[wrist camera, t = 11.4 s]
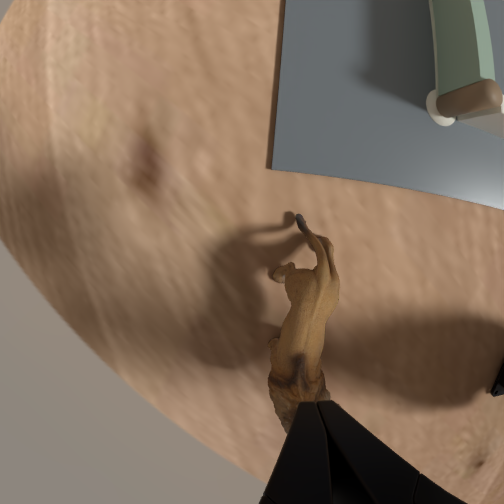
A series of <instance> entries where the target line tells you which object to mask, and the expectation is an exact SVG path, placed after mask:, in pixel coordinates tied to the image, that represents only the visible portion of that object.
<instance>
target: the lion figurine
mask: <svg viewBox="0 0 504 504" xmlns="http://www.w3.org/2000/svg"><path fill="white" fill-rule="evenodd" d="M296 221H297V225H298V228H299V229H300V231H301V232H302V233H303V234H304V235H305V236H306V237H307V238H308V240H309V241H310V242H311V244H312V246H313V248H314V250H315V252H316V256H317V266H315V267H314V269H313V270H310V269H295V264H294V263H293V262H290V263H288V264H286V265H284V266H281V267H279V268H277V269H276V270H275V272H274V274H273V278H274V280H275V282H278V283H285V290H286V292H287V296H288V298H289V300H290V301H291V305H292V306H291V309H290V311H289V313H288V315H287V317H286V318H285V320H284V322H283V325H282V329H281V334H280V338H279V339H278V338H274V339H272V340H271V341H270V342H269V343H268V347H269V348H270V350H272V351H271V358H270V361H271V364H272V369H271V371H270V374H269V377H268V387H269V394H270V398H271V400H272V401H273V403H274V408H275V413H276V414H277V416H278V417H279V419H280V421H281V424H282V426H283V427H284V430H285V432H286V433H287V434H288V431H289V429H290V426H291V423H292V421H293V418H294V415H295V412H296V409H297V407H298V404H299V402H302V401H314V402H317V401H320V400H330V393H329V391H328V390H327V389H326V386H325V379H324V374H323V372H322V370H321V364H322V362H321V359H320V356H321V353H322V350H323V345H324V338H325V324H326V321H327V319H328V318H329V316H330V315H331V313H332V312H333V310H334V309H335V307H336V305H337V303H338V300H339V287H340V281H339V276H338V274H337V271H336V268H335V265H334V260H333V252H334V248H333V245H332V243H331V242H330V241H329V239H328V238H326V237H320V238H317V237H316V236H315V235H314V234H313V233H312V232H311V231H310V230H309V229H308V227H307V225H306V221H305V220H304V218H303V216H302V215H301V214H296ZM338 405H339V404H338ZM339 406H340V405H339ZM340 407H341V406H340Z"/></svg>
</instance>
